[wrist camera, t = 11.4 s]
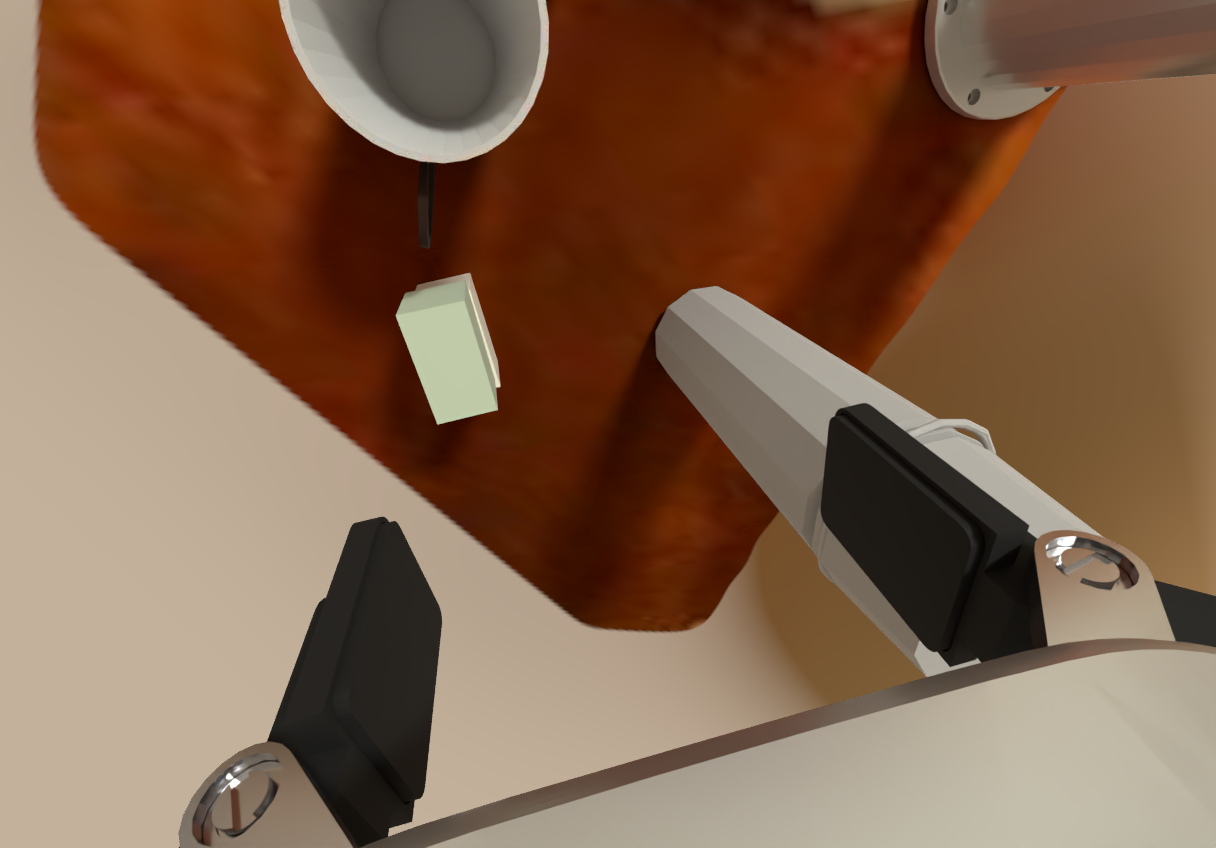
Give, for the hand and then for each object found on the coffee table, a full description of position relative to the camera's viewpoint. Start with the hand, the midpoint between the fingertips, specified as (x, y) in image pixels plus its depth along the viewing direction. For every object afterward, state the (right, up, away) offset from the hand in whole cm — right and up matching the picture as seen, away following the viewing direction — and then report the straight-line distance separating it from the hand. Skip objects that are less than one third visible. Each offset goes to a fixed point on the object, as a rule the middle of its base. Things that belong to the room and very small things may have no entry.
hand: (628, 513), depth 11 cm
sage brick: (-9, +7, +18) cm, 21 cm away
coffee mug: (-10, +19, +15) cm, 27 cm away
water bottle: (+7, +8, +26) cm, 28 cm away
